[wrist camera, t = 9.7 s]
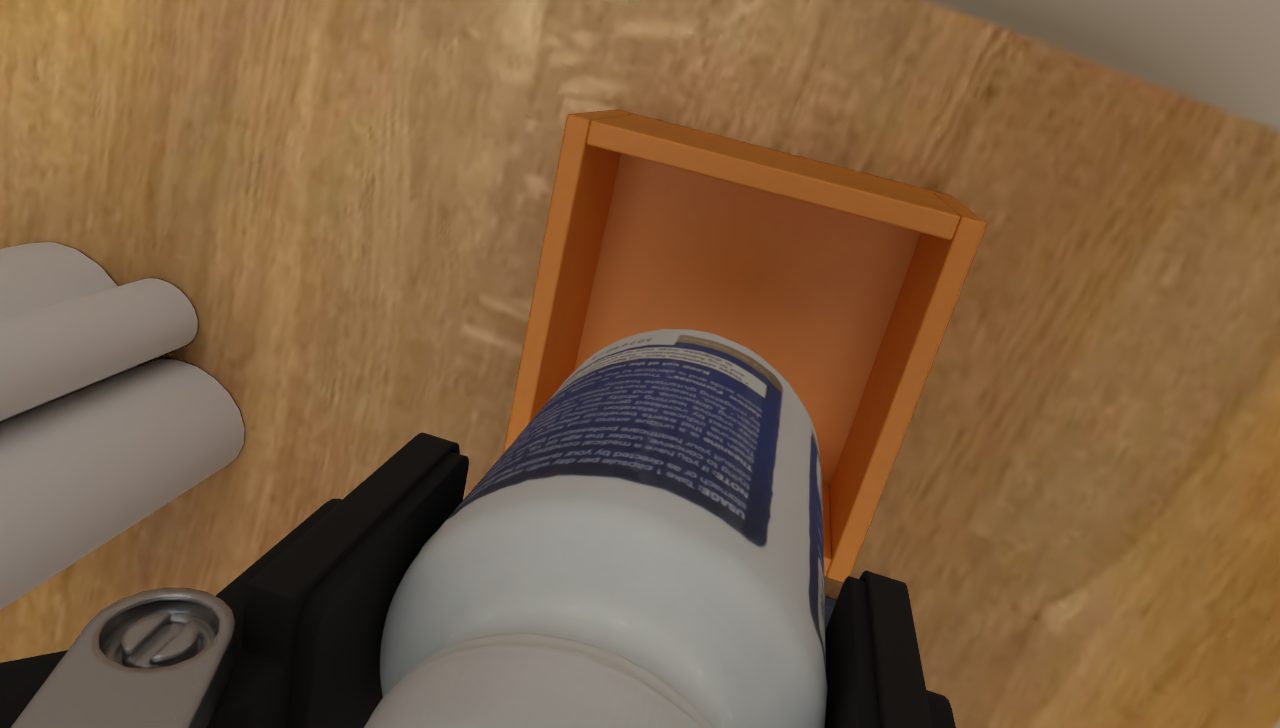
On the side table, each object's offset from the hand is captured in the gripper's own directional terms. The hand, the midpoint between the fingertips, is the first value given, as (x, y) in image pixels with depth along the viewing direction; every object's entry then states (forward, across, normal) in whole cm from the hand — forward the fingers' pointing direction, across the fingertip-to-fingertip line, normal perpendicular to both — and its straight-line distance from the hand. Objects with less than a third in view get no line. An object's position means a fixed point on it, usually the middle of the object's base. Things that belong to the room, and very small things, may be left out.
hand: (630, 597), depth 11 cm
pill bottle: (+5, 0, 0) cm, 5 cm away
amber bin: (+15, 0, 0) cm, 15 cm away
